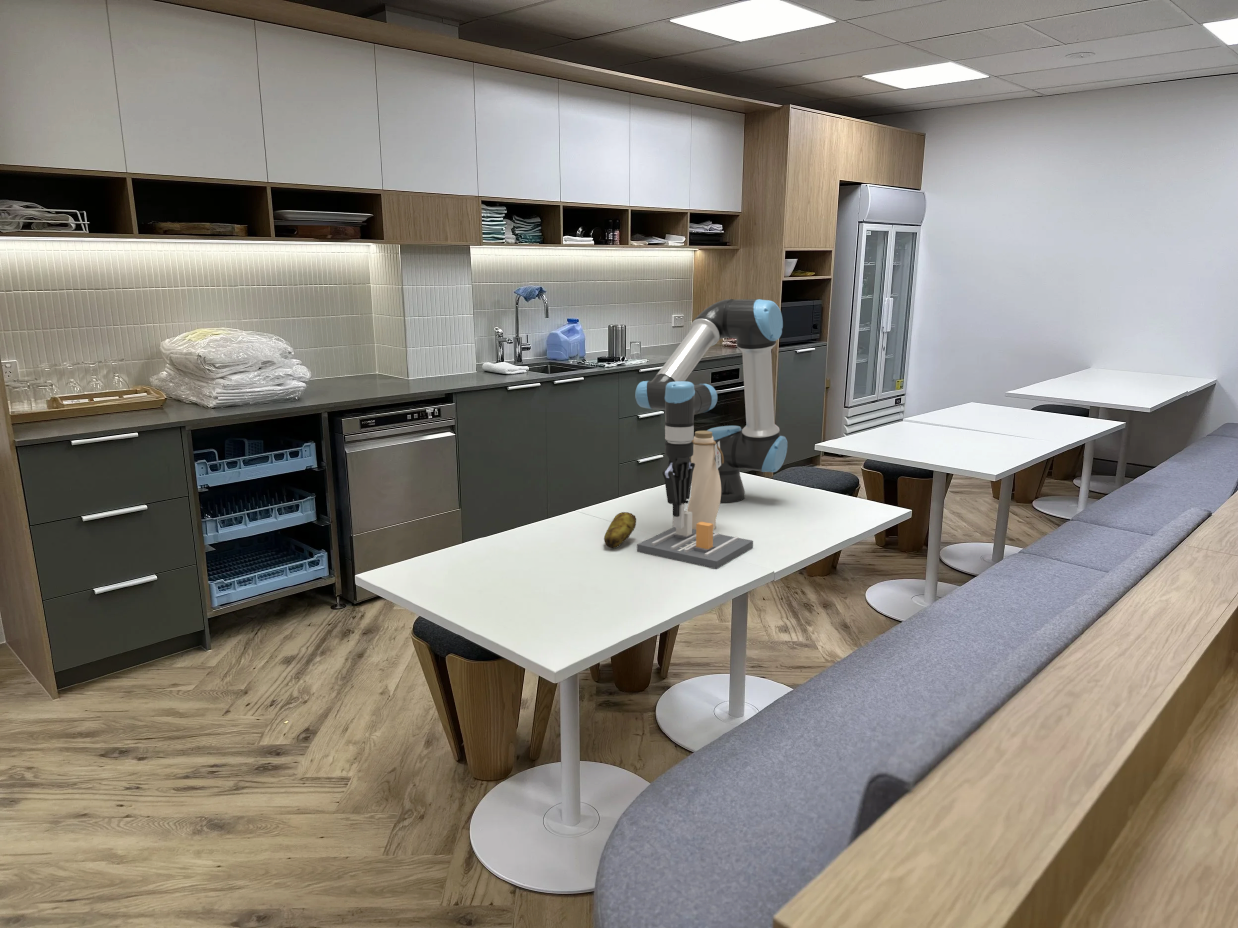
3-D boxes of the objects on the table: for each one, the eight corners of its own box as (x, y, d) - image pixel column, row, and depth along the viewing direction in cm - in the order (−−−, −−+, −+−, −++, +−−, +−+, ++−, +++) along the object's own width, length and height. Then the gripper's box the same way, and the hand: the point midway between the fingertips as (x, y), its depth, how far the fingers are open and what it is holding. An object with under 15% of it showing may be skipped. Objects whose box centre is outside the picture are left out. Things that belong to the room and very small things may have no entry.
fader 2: (701, 546, 226) (701, 520, 225) (714, 548, 224) (715, 523, 223) (693, 550, 223) (694, 524, 222) (707, 553, 221) (707, 526, 219)
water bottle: (722, 522, 254) (724, 429, 247) (722, 532, 245) (724, 435, 239) (687, 522, 255) (688, 429, 248) (686, 531, 246) (687, 435, 240)
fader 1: (681, 533, 237) (681, 509, 236) (694, 536, 235) (694, 511, 233) (673, 537, 234) (674, 512, 232) (686, 539, 232) (686, 514, 230)
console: (676, 532, 245) (676, 523, 244) (752, 547, 231) (753, 538, 231) (637, 551, 229) (637, 541, 228) (716, 568, 215) (716, 558, 215)
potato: (591, 546, 234) (591, 517, 232) (623, 535, 243) (623, 507, 241) (614, 552, 228) (614, 523, 226) (645, 541, 238) (645, 513, 236)
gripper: (679, 435, 233) (679, 519, 239) (653, 443, 223) (653, 530, 228) (704, 438, 229) (702, 523, 234) (678, 446, 219) (677, 535, 224)
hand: (678, 526), depth 231 cm, fingers closed
